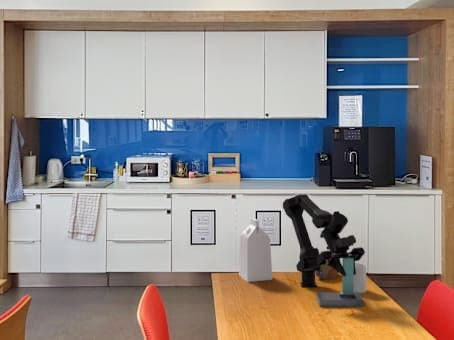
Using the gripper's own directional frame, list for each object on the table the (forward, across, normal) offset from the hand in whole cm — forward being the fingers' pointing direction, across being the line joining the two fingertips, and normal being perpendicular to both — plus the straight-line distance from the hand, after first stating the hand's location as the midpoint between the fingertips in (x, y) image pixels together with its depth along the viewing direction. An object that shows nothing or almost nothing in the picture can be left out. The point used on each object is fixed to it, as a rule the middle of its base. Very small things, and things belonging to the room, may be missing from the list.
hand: (350, 275), depth 217 cm
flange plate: (+5, -2, +10) cm, 12 cm away
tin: (-19, +15, +35) cm, 43 cm away
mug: (-3, +14, +19) cm, 24 cm away
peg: (+4, 0, +6) cm, 7 cm away
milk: (-29, -14, +45) cm, 55 cm away
